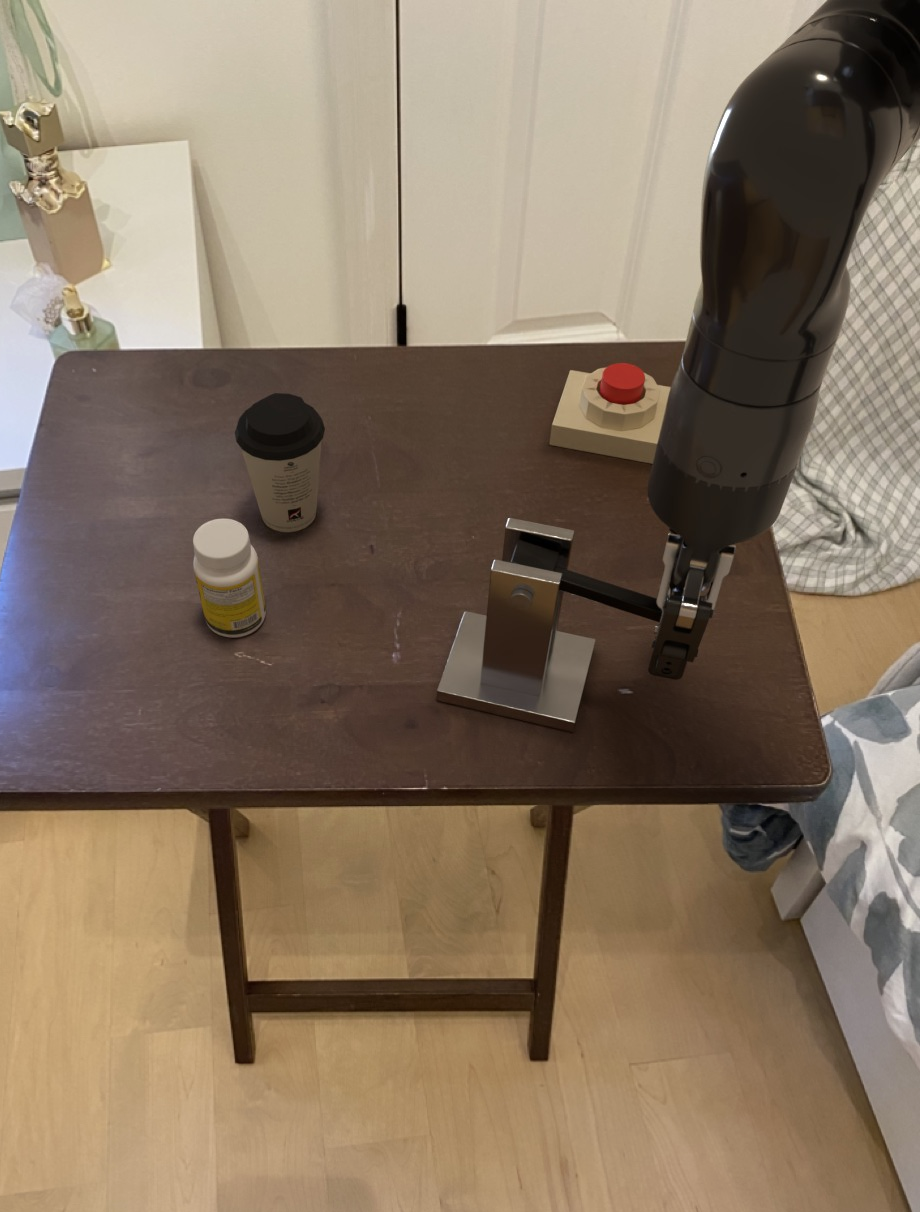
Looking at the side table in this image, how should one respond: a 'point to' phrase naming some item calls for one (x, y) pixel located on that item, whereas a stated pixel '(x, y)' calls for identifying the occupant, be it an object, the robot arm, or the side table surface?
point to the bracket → (521, 641)
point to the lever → (588, 583)
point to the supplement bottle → (228, 578)
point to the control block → (608, 419)
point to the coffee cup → (283, 459)
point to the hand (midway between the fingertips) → (671, 640)
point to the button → (622, 384)
